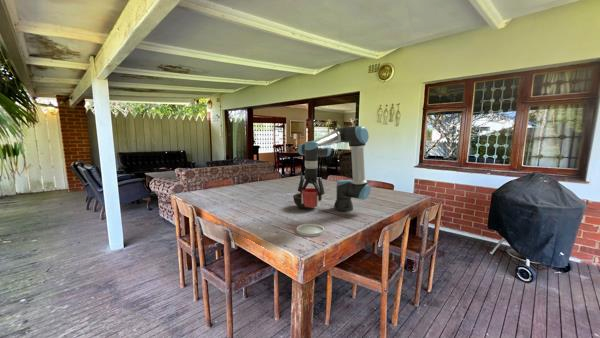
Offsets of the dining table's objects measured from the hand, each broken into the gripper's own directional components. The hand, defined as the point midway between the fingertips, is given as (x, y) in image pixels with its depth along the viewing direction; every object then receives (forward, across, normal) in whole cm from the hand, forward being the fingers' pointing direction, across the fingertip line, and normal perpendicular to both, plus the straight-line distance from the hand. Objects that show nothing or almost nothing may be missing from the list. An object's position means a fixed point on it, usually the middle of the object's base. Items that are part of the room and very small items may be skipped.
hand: (310, 204), depth 156 cm
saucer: (+17, 0, 0) cm, 17 cm away
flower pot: (+1, 0, 0) cm, 1 cm away
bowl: (+17, -29, +41) cm, 53 cm away
